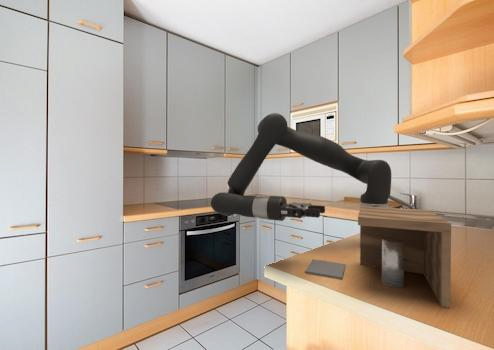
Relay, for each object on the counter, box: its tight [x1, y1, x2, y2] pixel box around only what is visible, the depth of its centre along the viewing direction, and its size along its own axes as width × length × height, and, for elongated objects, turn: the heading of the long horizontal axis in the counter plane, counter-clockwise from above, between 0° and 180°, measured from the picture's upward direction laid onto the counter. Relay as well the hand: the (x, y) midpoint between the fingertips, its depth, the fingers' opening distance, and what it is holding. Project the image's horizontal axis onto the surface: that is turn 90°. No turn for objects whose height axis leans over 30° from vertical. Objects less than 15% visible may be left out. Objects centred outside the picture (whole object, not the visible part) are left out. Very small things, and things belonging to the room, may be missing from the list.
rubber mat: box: [304, 258, 347, 280], centre depth 76 cm, size 11×10×1 cm
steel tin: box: [381, 238, 405, 288], centre depth 66 cm, size 5×5×11 cm
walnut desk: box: [357, 206, 452, 309], centre depth 67 cm, size 21×18×18 cm
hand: (322, 211), depth 74 cm, fingers open, 8 cm apart
